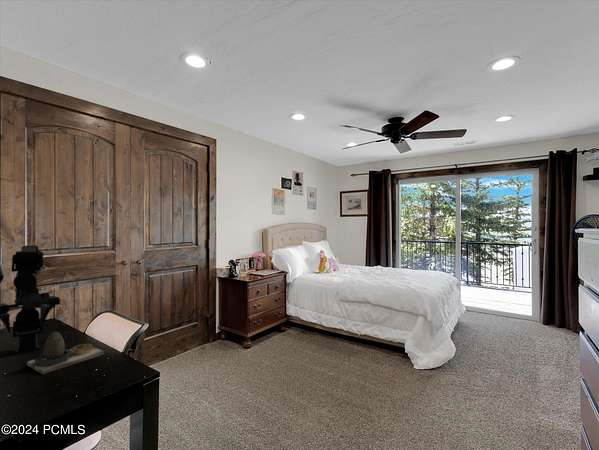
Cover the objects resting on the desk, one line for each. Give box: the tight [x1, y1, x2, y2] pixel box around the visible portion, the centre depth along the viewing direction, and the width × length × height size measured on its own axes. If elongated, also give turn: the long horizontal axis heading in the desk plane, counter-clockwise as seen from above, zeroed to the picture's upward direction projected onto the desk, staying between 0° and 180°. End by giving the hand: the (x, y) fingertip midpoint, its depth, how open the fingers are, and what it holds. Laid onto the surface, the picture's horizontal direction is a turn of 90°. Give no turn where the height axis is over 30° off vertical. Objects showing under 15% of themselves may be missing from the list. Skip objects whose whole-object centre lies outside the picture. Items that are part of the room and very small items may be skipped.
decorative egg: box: [42, 331, 66, 359], centre depth 108 cm, size 6×6×10 cm
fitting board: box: [26, 346, 105, 375], centre depth 111 cm, size 13×19×1 cm
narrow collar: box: [71, 342, 94, 355], centre depth 116 cm, size 6×6×2 cm
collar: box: [34, 348, 72, 367], centre depth 108 cm, size 10×10×2 cm
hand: (25, 328), depth 109 cm, fingers open, 9 cm apart
